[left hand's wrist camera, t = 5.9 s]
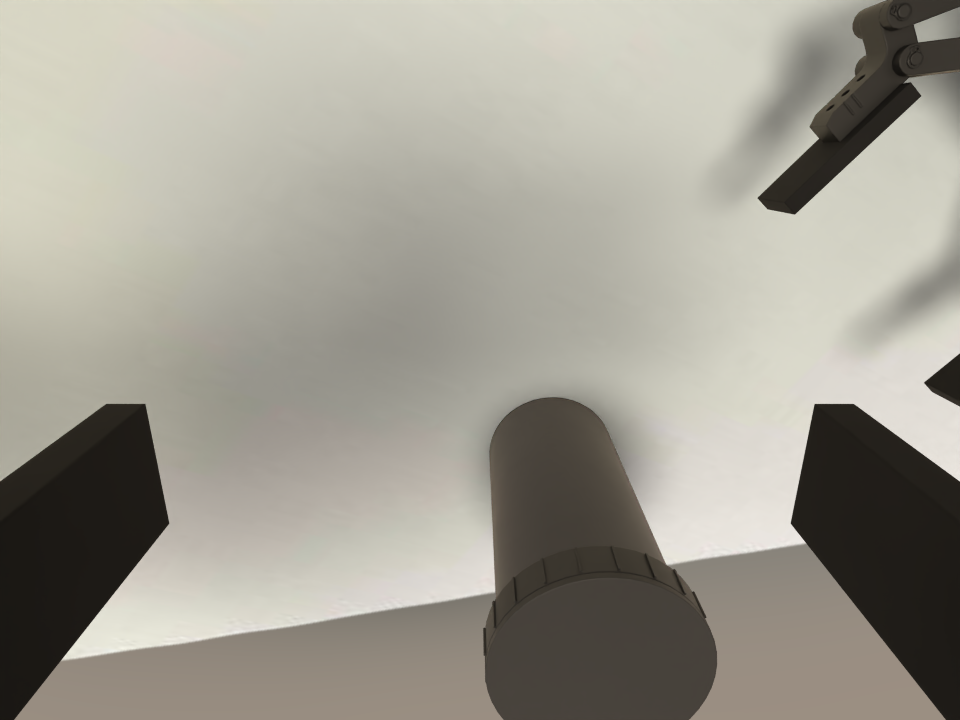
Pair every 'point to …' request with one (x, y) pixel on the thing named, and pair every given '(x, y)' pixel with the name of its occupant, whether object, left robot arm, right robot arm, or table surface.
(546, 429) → the jar
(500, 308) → the table surface
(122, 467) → the left robot arm
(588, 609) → the lid
